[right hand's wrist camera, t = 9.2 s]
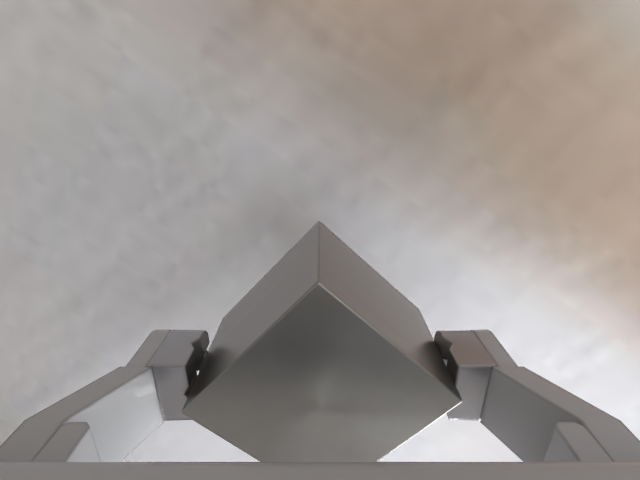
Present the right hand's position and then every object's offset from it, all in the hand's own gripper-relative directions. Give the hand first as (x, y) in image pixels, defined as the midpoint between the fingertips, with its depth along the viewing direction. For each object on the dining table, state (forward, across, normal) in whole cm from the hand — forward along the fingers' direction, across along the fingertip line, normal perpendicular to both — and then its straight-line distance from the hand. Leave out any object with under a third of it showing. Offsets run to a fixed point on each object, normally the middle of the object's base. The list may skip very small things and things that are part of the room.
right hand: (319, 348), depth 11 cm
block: (+2, 0, 0) cm, 2 cm away
